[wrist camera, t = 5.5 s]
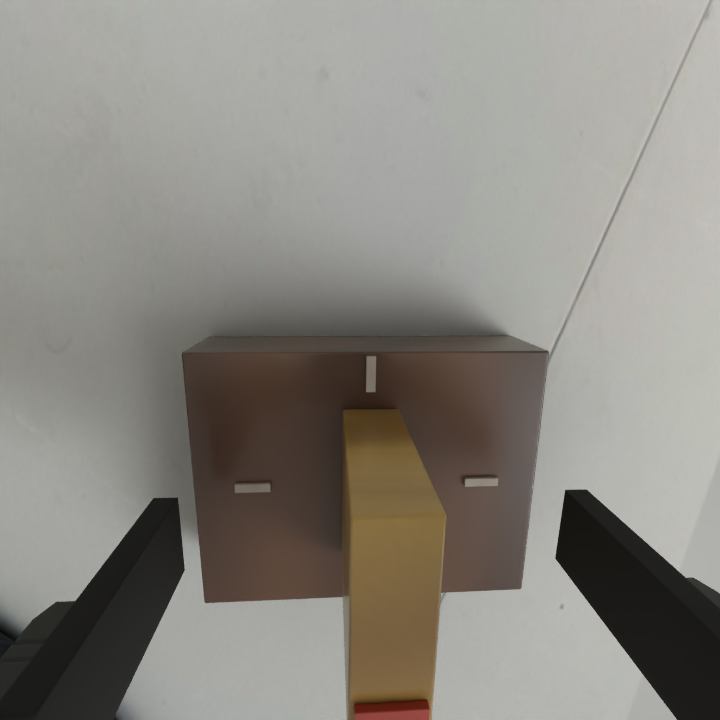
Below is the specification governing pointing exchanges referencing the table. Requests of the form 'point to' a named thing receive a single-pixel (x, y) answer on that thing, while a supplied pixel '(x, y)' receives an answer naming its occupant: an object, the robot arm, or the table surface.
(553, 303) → the table surface
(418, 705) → the thumb turn
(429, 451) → the plate
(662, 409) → the table surface
